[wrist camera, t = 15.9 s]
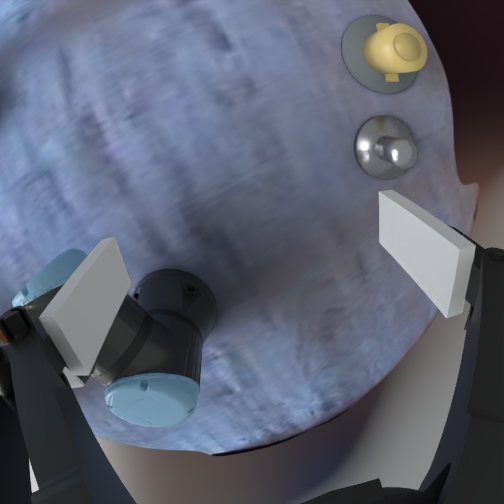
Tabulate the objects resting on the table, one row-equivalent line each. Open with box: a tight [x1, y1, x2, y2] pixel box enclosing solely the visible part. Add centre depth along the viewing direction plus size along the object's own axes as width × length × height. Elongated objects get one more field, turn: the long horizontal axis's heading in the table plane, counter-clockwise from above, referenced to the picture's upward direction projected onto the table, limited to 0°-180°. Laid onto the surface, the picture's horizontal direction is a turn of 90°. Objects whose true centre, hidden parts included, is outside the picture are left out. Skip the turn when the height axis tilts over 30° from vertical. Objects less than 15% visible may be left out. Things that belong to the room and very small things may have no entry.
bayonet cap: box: [362, 23, 427, 82], centre depth 33 cm, size 7×9×8 cm
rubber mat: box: [341, 15, 418, 94], centre depth 37 cm, size 13×13×1 cm
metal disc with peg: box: [354, 116, 417, 180], centre depth 40 cm, size 10×10×7 cm
